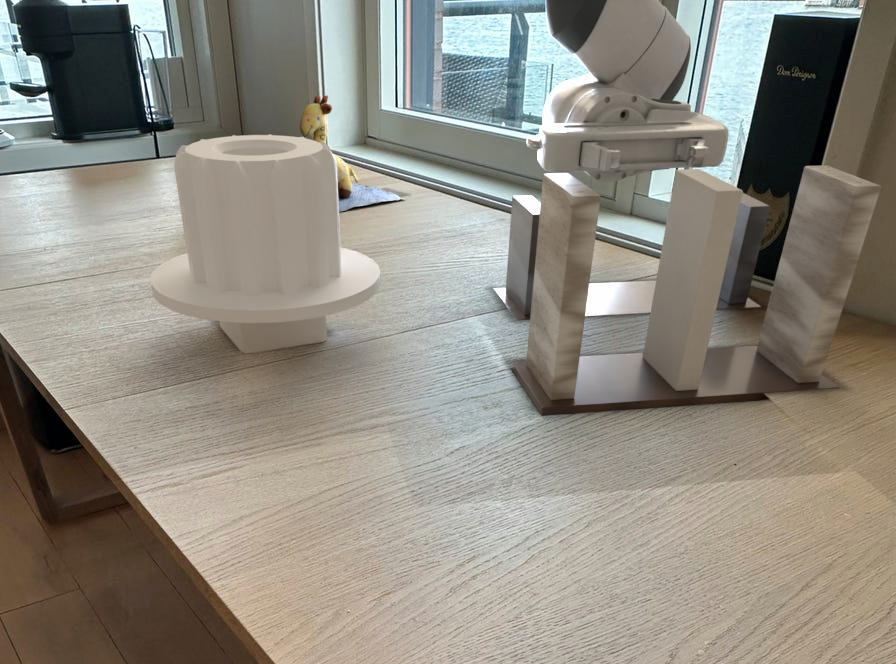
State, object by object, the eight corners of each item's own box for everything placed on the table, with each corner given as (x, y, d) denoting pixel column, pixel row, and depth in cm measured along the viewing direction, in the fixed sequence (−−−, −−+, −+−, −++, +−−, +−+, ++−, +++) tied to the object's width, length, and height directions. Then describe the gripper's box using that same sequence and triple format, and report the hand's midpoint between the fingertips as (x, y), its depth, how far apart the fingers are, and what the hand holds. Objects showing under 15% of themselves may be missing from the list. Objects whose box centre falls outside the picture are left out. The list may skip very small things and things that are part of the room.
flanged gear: (192, 392, 86) (157, 183, 74) (141, 315, 103) (106, 135, 91) (417, 354, 94) (419, 160, 82) (334, 288, 112) (326, 120, 100)
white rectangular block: (663, 356, 92) (699, 168, 81) (698, 389, 85) (743, 190, 74) (642, 357, 92) (675, 169, 80) (675, 391, 85) (717, 191, 74)
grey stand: (717, 283, 115) (739, 185, 107) (760, 313, 105) (787, 208, 98) (492, 294, 110) (498, 193, 103) (516, 326, 101) (525, 218, 94)
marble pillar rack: (778, 351, 96) (831, 161, 84) (836, 394, 87) (905, 189, 75) (509, 367, 91) (525, 170, 80) (541, 415, 82) (564, 201, 70)
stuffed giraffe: (268, 196, 150) (263, 89, 140) (350, 186, 160) (351, 85, 149) (321, 218, 141) (320, 105, 131) (405, 206, 151) (410, 100, 140)
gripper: (524, 106, 94) (562, 127, 83) (699, 101, 96) (758, 121, 86) (519, 170, 98) (555, 198, 87) (688, 164, 100) (742, 190, 90)
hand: (657, 160), depth 87 cm, fingers open, 8 cm apart
